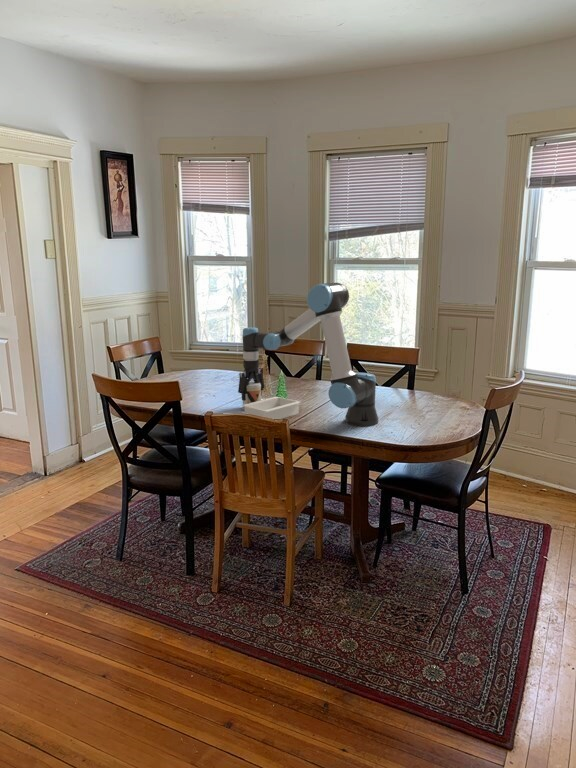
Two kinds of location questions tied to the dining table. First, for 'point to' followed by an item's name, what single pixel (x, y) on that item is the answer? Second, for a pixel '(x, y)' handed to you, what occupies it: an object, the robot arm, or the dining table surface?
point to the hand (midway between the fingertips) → (252, 404)
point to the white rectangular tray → (273, 408)
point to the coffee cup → (253, 392)
